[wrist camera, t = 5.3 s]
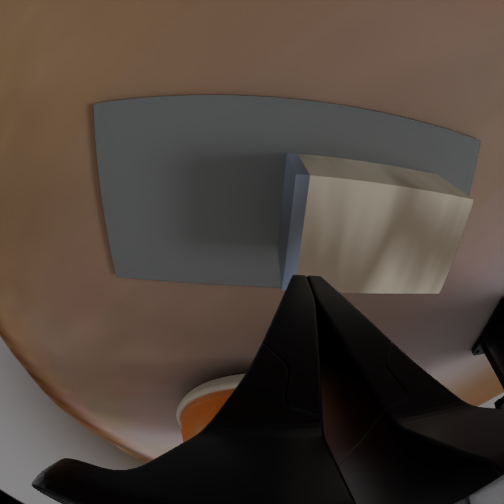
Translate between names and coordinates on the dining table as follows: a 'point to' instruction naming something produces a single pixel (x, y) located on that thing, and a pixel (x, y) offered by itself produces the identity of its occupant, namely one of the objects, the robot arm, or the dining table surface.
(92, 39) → the dining table surface
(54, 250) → the dining table surface
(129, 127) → the mat
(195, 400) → the stacking toy
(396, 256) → the block
